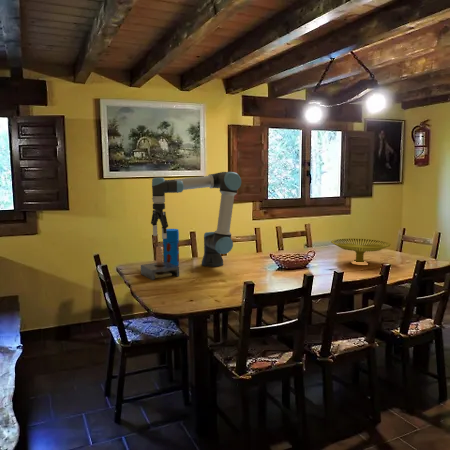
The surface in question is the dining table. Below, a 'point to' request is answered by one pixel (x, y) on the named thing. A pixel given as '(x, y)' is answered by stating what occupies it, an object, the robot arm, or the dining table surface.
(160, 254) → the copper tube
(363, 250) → the cake stand
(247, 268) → the dining table surface
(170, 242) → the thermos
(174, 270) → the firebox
